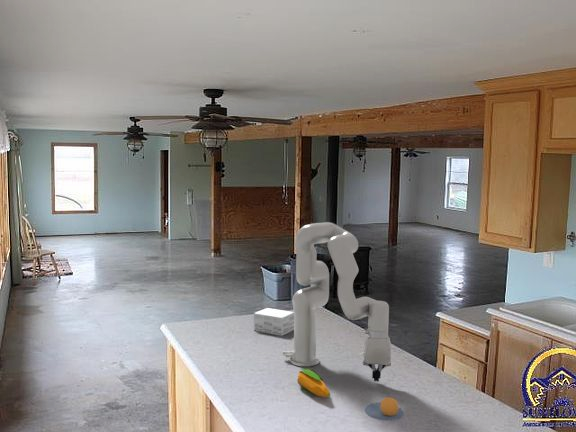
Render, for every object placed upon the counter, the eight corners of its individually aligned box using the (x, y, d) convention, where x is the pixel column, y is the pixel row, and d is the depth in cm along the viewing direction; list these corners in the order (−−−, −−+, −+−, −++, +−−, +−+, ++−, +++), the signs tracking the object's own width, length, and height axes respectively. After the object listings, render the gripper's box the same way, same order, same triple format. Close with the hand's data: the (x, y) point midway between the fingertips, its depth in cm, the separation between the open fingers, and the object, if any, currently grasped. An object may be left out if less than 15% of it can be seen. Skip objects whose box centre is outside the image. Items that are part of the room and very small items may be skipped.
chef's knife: (350, 356, 243) (355, 357, 241) (350, 353, 243) (355, 354, 241) (378, 347, 256) (383, 348, 253) (378, 344, 256) (383, 345, 253)
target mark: (366, 419, 181) (366, 418, 181) (363, 402, 193) (363, 401, 193) (406, 420, 180) (406, 420, 180) (400, 403, 193) (400, 403, 193)
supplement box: (295, 329, 279) (295, 311, 278) (282, 336, 268) (282, 317, 267) (266, 324, 287) (267, 307, 286) (253, 330, 276) (253, 312, 275)
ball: (379, 393, 185) (378, 408, 187) (383, 404, 180) (381, 420, 182) (396, 393, 186) (395, 408, 188) (401, 404, 180) (399, 419, 182)
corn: (309, 362, 210) (337, 381, 193) (310, 381, 211) (338, 401, 194) (292, 366, 207) (320, 386, 189) (293, 386, 208) (320, 406, 190)
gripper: (359, 335, 205) (357, 383, 207) (399, 337, 205) (397, 384, 206) (357, 329, 213) (356, 375, 215) (396, 331, 212) (394, 377, 214)
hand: (376, 379), depth 210 cm, fingers closed
